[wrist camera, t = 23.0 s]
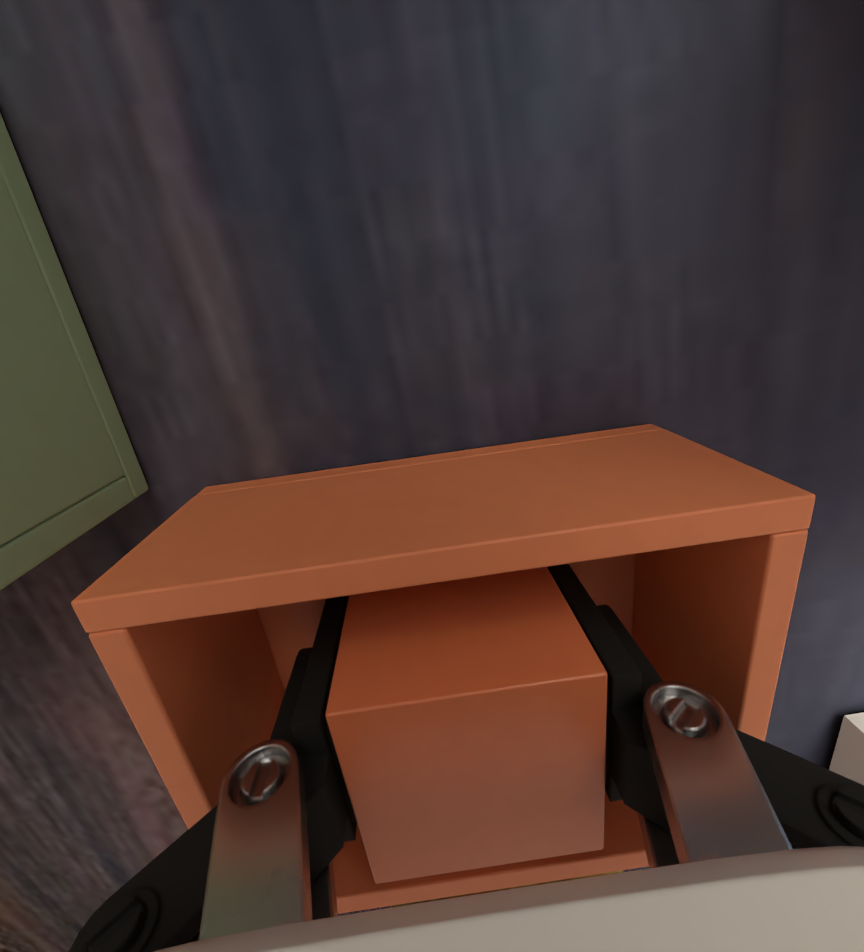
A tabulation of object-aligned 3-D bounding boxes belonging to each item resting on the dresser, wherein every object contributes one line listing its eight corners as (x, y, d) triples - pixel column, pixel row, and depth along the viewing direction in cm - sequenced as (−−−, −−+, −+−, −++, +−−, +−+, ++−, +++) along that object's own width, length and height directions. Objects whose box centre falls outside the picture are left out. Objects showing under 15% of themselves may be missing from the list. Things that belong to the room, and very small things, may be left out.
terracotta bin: (204, 486, 11) (67, 602, 6) (652, 422, 11) (818, 494, 6) (291, 736, 14) (239, 929, 9) (637, 685, 14) (743, 853, 9)
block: (355, 561, 11) (324, 715, 7) (530, 536, 11) (609, 673, 7) (384, 693, 12) (374, 886, 8) (537, 670, 13) (604, 851, 8)
